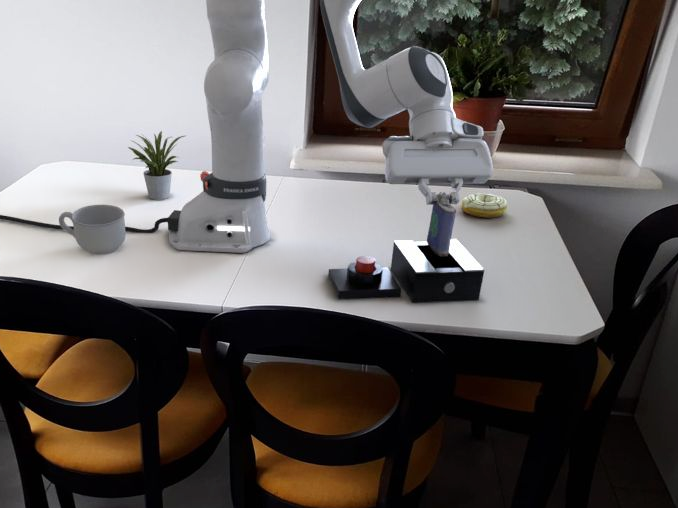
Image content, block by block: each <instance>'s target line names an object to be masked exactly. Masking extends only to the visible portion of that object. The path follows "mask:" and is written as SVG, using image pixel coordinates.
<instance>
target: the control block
mask: <svg viewBox="0 0 678 508" xmlns="http://www.w3.org/2000/svg"><path fill="white" fill-rule="evenodd" d="M327 277H328V280H329V282H330V285H331V286H332V288H333V289H332V290H333V292H334V293H335V295H336V297H337V299H338V300H363V299H386V298H387V299H389V298H391V299H392V298H401V297H402V296H401V295H402V286H401V285H400V283H399V282H398V280H397V279H396V277H395V276H394V274H393V272H392V271H391V269H389V267H388V266H381V265H380V264H378V263H376V262H375V270H374V272H371V273H364V272H359V271H357V270H356V261H354V262H350V263H349V265H347V267H346V268H328V274H327Z"/></svg>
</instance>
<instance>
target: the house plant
mask: <svg viewBox="0 0 678 508" xmlns="http://www.w3.org/2000/svg"><path fill="white" fill-rule="evenodd" d="M136 136H137V137H139V138H140V139H141V140H142V141H143V143H144V144H145V145H146V146H142V145H140V144H139V143H138V142H136V141H134V140H130V139H129V141H130V142H132V143H134V144H136V145H137V146H139V148H140V149H142V150H143V152H144V153H145V154H146V155H145V154H144V153H142V152H141V151H139V150H138V149H135V148H133V147H130V146H127V148H128V149H129V150H130V151H132V153H133V154H134V155H135V156H137V157H134V158H132V161H133V160H140V162H141V163H142V162H143V163H145V165H146V166H145V168H144V171H143V177H144V182H145V186H146V190H147V194H148V198H149V199H150V200H153V201H163V200H166V199H168V198H170V194H171V185H172V175H173V172H172V171H171V170H170V169H167V167H168V166H169V165H171V166H172V165H173V163H178V160H173V159H176V158H179V159H180V157H179V156H177V155H171V156H169V154H170V153H171V152H172V150H173V149H174V147H175V146H176V144H175V143H176V142H177V141H178V140H179V139H181V138H184V137H186V135H181V136H178V137H176V138H175V139H173V140H172V141H171V143H170V144H169V146H168V147H166V146H167V144H168V139H170V138H172V136H169V137H166V138H165V140H164V142H163V145H161V143H162V139H163V130H160V132H159V133H158V135H156V134H155V133H153V136H154V146H155V148H154V146H153V144H152V142H151V141H150V140H149V139H148V138H147V137H146V136H144V135H143V136H140V135H137V134H136ZM161 146H162V148H161ZM166 148H167V149H166ZM168 156H169V157H168ZM146 169H147V170H146Z"/></svg>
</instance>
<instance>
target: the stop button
mask: <svg viewBox="0 0 678 508" xmlns="http://www.w3.org/2000/svg"><path fill="white" fill-rule="evenodd" d="M355 262H356V270H357V271H359V272H364V273H371V272H374V270H375V263H376V259H375V258H374V257H372V256H369V255H361V256H357V258H356V259H355Z"/></svg>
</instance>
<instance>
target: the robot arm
mask: <svg viewBox="0 0 678 508" xmlns="http://www.w3.org/2000/svg"><path fill="white" fill-rule="evenodd" d="M361 1H362V0H319V7H320V11H321V12H320V13H321V16H322V20H323V25H324V29H325V34H326V37H327V40H328V44H329V48H330V51H331V52H330V53H331V55H332V59H333V63H334V66H335V70H336V74H337V78H338V84H339V91H340V96H341V103H342V106H343V111H344V112H345V115H346V117H347V118H348V120H350V121H351V122H352V123H354V124H356V125H358V126H360V127H364V128H368V129H372V128H374V127H376V126H378V125H379V124H381V123H382V122H384V121H386V120H388V118H391V117H393V116H395V115H397V114H399V113H401V112H403V111H406V110H407V112H408V114H409V121H408V128H409V135H401V136H396V135H391V136H389V137H388V138H386V139H384V140H383V141H382V144H381V148H382V154H383V156H384V157H385V162H384V177H385V178H384V179H385V181H386V182H387V183H388V184H389V185H417V187H418V190H419V192H420V193H421V194H422V195H423V196H424V197H425V203H426V205H427V206H428V205H429V206H431V205H432V206H433V205H435V203H436V202H437V198H436V194H437V192H432V190H431V188H430V187H429V186H428V185H451V189H454V190H453V191H451V192H449V194H450V197H448V199H449V200H448V202H449V203H450V204H451V205H458V203H459V202H460V195H459V193H460V191H461V188H462V187H463V185H481V184H482V185H483V184H485V183H487V182H488V180H490V178H491V177H492V175H493V173H494V164H493V159H492V154H491V150H490V148H489V146H488V144H487V142H486V141H485V140H483V137H484V134H485V132H484V128H483V127H482V126H480V125H477V124H474V123H471V122H467V121H465V120H462V119H459V117H458V118H457V116H456V112H455V111H454V108H453V102H454V96H453V88H452V83H451V80H450V76H449V73H448V70H447V66H446V64H445V61H444V59H443V58H442V57H441V56H440V55H439V54H437V53H436V52H432V51H430V50H428V49H427V48H423V47H421V46H416V45H413V46H410V47H408V48H405V49H404V50H401V51H399V52H397V53H396V54H393V55H391V56H390V57H389V58H387V59H385V60H383V61H381V62H379V63H377V64H375V65H373V66H371V67H369V68H368V69H366V68H364V67H363V63H362V60H361V56H360V51H359V48H358V43H357V39H356V36H355V32H354V27H353V21H354V15H355V12H356V10H357V8H358V6H359V5H360V3H361ZM205 3H206V4H205V5H206V18H207V19H208V20H207V21H208V24H209V28H210V29H209V30H210V34H211V40H212V46H213V48H212V49H213V58H214V59H213V61H212V62H211V63H210V64H209V66H208V67H207V68H206V71H205V75H204V81H203V92H204V96H205V101H206V102H205V104H206V112H207V118H208V123H209V124H208V125H209V130H210V139H211V172H210V173H209V172H208V171H206V170H204V171H201V173H200V174H199V176H200V181H201V182H202V191H201V192H200V193H199V194H196V195H195V196H194V198H192V199H191V200H189V201H188V202H186V203H185V204H184V205H183V206H182V208H181V210H179V209H178V210H177V209H174V210H173V211H172V212H171V214H169V216H167V217H162V218H159V219H157V220H156V221H155V222H154V226H153V227H151V228H149V229H142V228H137V227H136V228H135V227H131V226H125V232H130V233H138V234H152V233H155V232H157V231H158V230H159V228H160V225H161V224H163V223H167V230H168V231H169V233H168V241H169V244H170V246H171V247H173V248H174V249H175V250H178V251H190V252H191V251H193V252H213V253H214V252H215V253H233V254H234V253H236V254H245V253H247V252H249V251H251V250H252V249H253V248H257V247H260V246H263V245H265V244H266V243H268V242H269V241H270V239H271V232H270V229H269V225H268V220H267V213H266V212H267V211H266V203H265V202H266V199H267V176H266V173H265V139H266V138H265V131H264V122H263V99H262V98H263V93H264V91H265V90H266V87H267V86H268V83H269V78H270V69H269V68H270V67H269V65H270V64H269V50H268V37H267V26H266V25H267V24H266V13H265V10H266V9H265V8H266V7H265V6H266V5H265V0H205ZM0 220H3V221H10V222H14V223H19V224H24V225H29V226H35V227H40V228H45V229H52V230H60V231H65V230H64V229H62V227H61V226H60V224H52V223H47V222H40V221H35V220H30V219H25V218H20V217H15V216H10V215H3V214H0ZM68 226H69V227H70V228H71V229H73V230H74V227H73V226H72V225H68Z"/></svg>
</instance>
